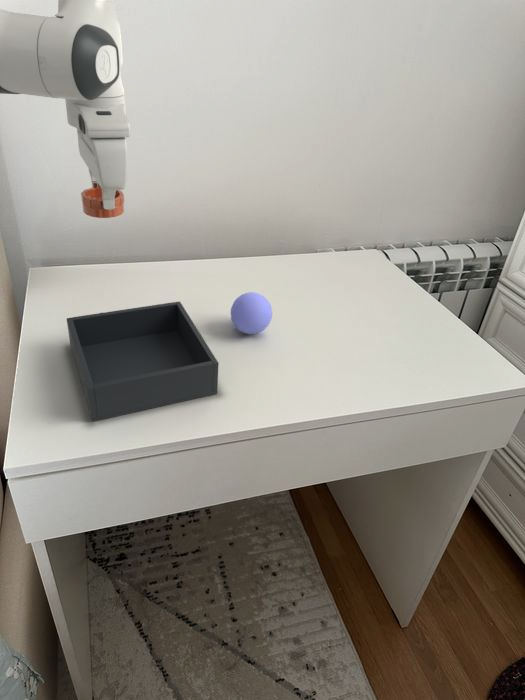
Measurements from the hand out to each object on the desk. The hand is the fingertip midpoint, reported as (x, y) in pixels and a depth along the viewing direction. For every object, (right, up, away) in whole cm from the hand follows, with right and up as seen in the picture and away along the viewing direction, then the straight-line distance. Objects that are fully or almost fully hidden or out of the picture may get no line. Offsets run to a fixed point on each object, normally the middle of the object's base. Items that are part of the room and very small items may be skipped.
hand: (103, 199), depth 91 cm
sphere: (+25, -23, 0) cm, 34 cm away
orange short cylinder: (0, -2, +1) cm, 2 cm away
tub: (+9, -29, -11) cm, 32 cm away
